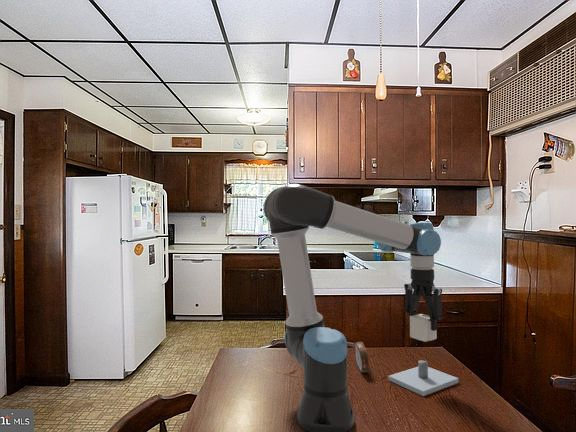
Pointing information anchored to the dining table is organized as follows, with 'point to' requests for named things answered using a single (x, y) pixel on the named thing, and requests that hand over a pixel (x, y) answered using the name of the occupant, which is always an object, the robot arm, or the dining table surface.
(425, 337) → the cream box with handle
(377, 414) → the dining table surface
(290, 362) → the dining table surface
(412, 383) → the panel
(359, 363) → the tin
